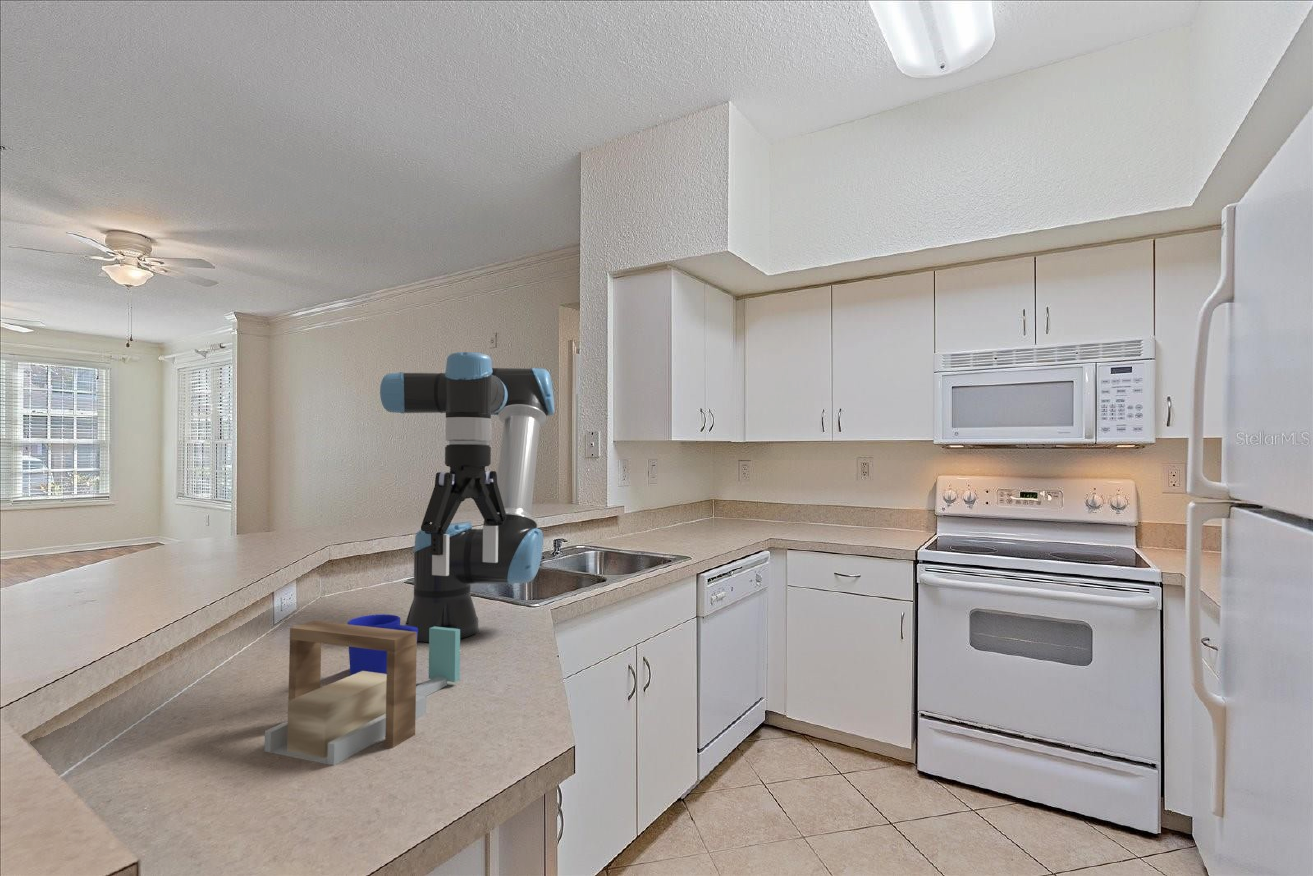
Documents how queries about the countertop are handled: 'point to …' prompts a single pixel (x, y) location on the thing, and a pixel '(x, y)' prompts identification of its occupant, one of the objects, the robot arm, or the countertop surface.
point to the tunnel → (393, 641)
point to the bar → (334, 711)
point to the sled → (440, 671)
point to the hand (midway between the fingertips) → (466, 568)
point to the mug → (369, 657)
